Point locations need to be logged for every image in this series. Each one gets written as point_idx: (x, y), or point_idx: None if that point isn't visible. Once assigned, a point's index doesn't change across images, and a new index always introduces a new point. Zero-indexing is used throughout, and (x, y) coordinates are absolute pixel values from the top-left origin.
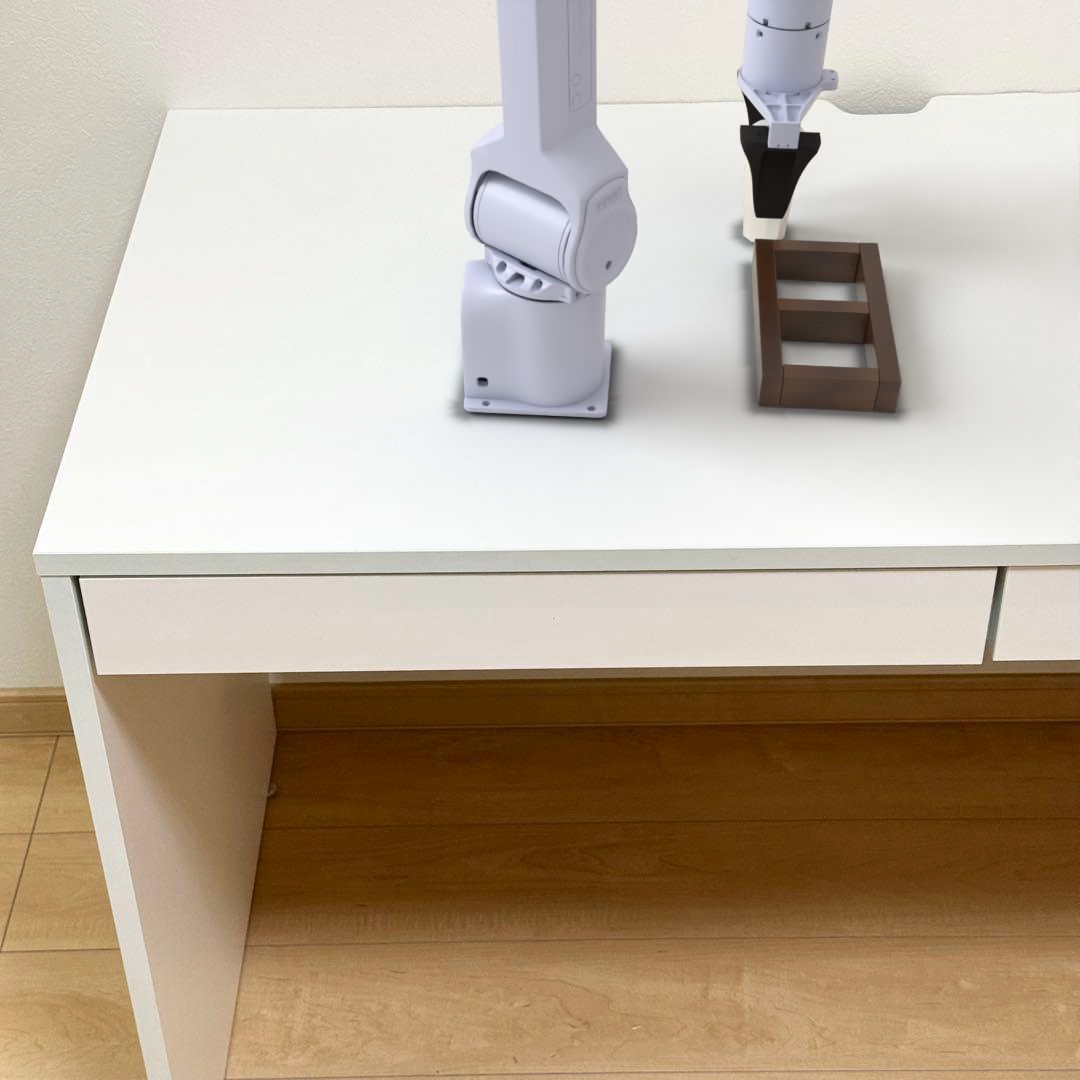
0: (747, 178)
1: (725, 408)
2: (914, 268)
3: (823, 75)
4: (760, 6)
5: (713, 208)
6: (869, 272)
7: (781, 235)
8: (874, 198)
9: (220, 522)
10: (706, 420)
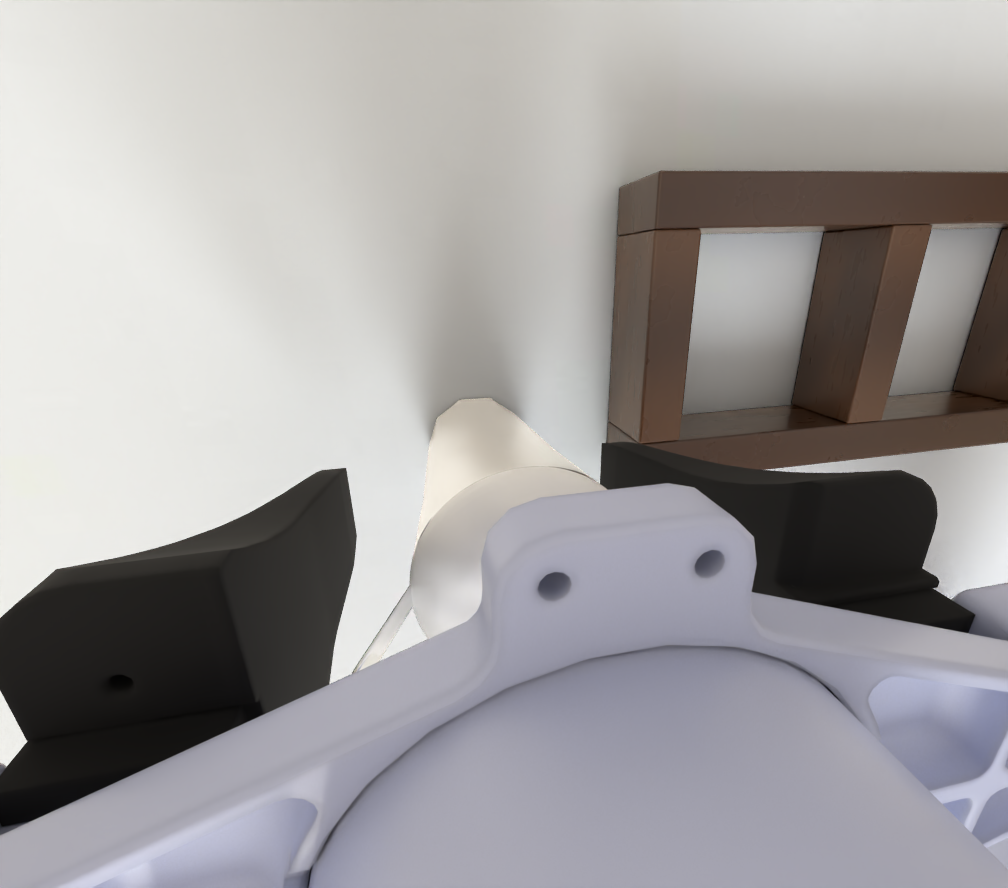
0: None
1: (957, 464)
2: (594, 59)
3: (638, 645)
4: None
5: (384, 546)
6: (787, 209)
7: (504, 407)
8: (233, 138)
9: None
10: (972, 486)
